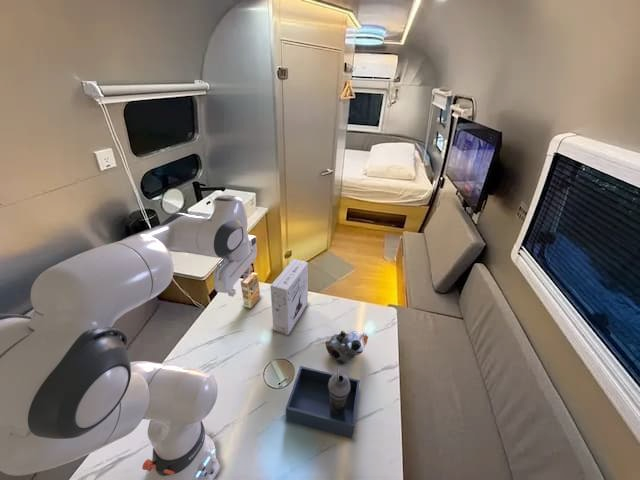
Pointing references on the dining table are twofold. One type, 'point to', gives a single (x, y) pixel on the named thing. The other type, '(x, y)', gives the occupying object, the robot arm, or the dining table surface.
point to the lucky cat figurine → (346, 345)
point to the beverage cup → (338, 392)
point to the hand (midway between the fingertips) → (239, 285)
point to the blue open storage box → (320, 403)
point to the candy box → (250, 290)
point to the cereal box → (289, 295)
